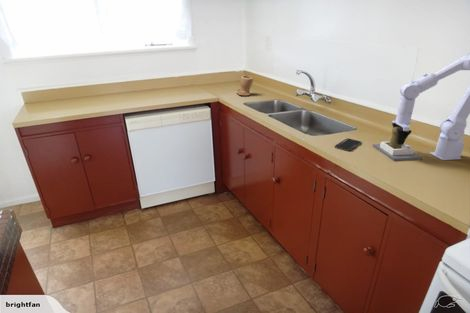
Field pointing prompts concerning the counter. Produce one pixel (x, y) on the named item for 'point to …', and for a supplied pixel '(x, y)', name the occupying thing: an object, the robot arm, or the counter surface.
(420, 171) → the counter surface
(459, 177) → the counter surface
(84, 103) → the counter surface
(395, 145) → the cork
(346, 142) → the phone
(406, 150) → the socket dock
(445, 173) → the counter surface
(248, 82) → the stone cup
